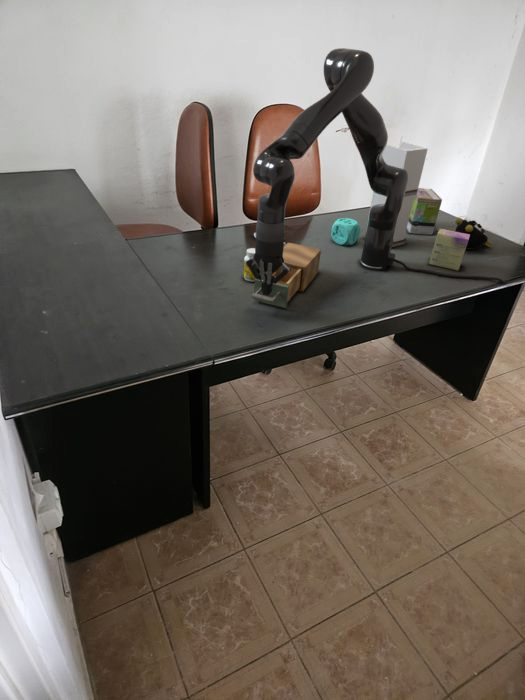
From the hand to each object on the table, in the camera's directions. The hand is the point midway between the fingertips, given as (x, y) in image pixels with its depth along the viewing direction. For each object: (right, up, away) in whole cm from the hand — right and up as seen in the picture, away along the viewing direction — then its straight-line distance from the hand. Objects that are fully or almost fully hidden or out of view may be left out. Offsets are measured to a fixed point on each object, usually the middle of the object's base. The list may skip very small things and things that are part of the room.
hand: (266, 293), depth 134 cm
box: (+64, +15, +36) cm, 75 cm away
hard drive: (+1, +25, +45) cm, 52 cm away
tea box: (+64, +36, +66) cm, 98 cm away
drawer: (+3, 0, +8) cm, 9 cm away
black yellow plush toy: (+80, +24, +51) cm, 97 cm away
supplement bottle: (-5, +7, +20) cm, 22 cm away
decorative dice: (+30, +26, +49) cm, 63 cm away
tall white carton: (+47, +27, +52) cm, 75 cm away
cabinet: (+9, +8, +21) cm, 24 cm away
